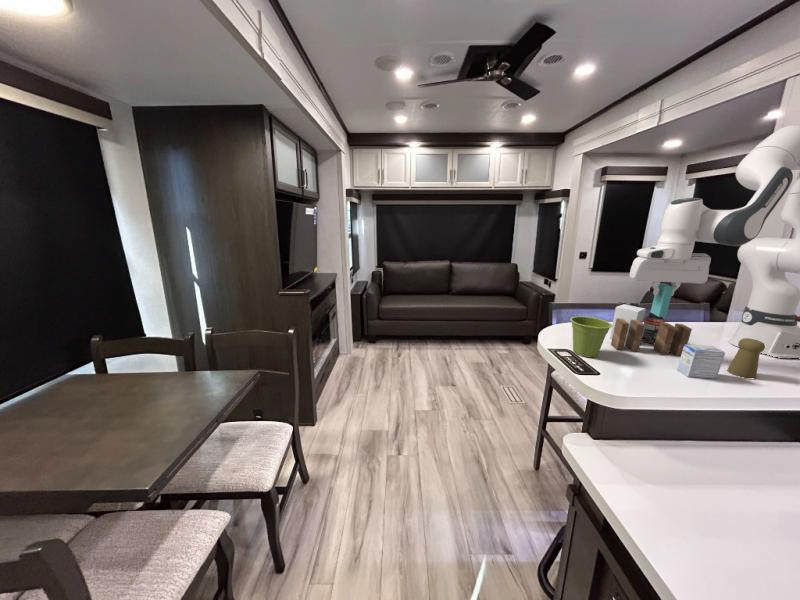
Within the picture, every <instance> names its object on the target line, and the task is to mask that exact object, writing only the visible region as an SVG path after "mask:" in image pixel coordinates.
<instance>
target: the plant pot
mask: <svg viewBox="0 0 800 600" xmlns="http://www.w3.org/2000/svg"><path fill="white" fill-rule="evenodd" d="M570 322H571V328H572V351H574V352H573V353H575V354H576V355H578V356H580V355H581V356H580V357H585V358H591V357H593V358H596V357H598V355H599V353H600V350H601V348H602V345H603V343H604V340H605V339H606V335H607V334H608V332H609V330H610V329H612V324H613V323H611V322H609V321H607V320H604V319H601V318H598V317H591V316H583V315H582V316H572V317H571V318H570Z"/></svg>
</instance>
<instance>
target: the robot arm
mask: <svg viewBox="0 0 800 600" xmlns="http://www.w3.org/2000/svg"><path fill="white" fill-rule="evenodd" d="M797 170H798V171H800V125H799V124H795V125H792V124H791V125H787V126H784V127H782V128H779V129H777V130H776V131H774V132H773V133H771V134H770V135H768V136H767V137H766V138H765V139H763V140H762V141H760V143H758V144H757V145H756V146H755V147H754V148H752V150H750V151H749V153H748V154H747V155H745V157H744V158H743V159H742V160H740V162H739V163H738V165H737V167H736V169H735V178H736V180H737V182H738V183H739V184H740V185H741V186H743V187H744V188H746V189H748V190H751V191H755V192H754V194H753V196H752V197H751V199H750V200H749V201H748V202H747V204H746V205H745V206H743V207H739V208H734V209H711V208H709V207H707V206H706V205H704V202H703V198H700V197H686V198H679V199H675V200H672V201H671V202H669V203H668V205H667V206H666V209H665V211H664V213H663V214H664V215H663V217H662V220H661V225H660V236H659V238H658V240H657V241H656V245H651V246H649V247H645V248H640V249H637V251H636V256H637V257H636V258H635V259H634V260H633V262H632V265H631V266H630V269H629V271H630V272H629V278H630V279H631V280H633V281H636V282H637V281H638V282H650V283H651V286H652V290H653V292H652V294H653V295H654V296H655V295H661V293H662V290H660V289H659V288H658V285H660V283H671V284H670V285H671V286H672V287H674V288H673V292H672V295H671V297H673V296H674V294H675V292H676V291H677V290H678V288H680V287H681V284H698V285H699V284H701V285H703V284H705V283H706V282H707V281H708V278H709V272H710V264H711V260H712V258H711V256H710V255H709V254H707V253H705V252H704V253H696V252H695V253H694V252H693V251H694V248H695V243H696V242H702V243H708V244H709V243H710V244H720V245H724V246H730V247H739V248H738V250H737V253H736V254H737V259H738V261H739V262H740V264H741V265H743V266H744V267H745V268H746V270H747V271H748V273H749V275H750V278H751V283H752V284H751V285H752V286H751V292H750V296H749V299H748V303H747V306H745V307H744V309H743V312H742V314H741V321H740V323H739V325H738V327H737V329H736V330H735V333H734V334H733V335H732V336H731V338H730V339H729V340H728V343H730V344H731V345H733V346H735V347H738V348H739V346H738V343H739V341H740V340H741V339H744V338H749V339H755V340H758V341H761V342H762V343H764V345H765V348H764V350H763V351H762V352H761V353H762V355H765V354H767V356H769V355H770V356H769V357H772V356H773V358H775V357H778V358H777V359H780V358H800V327H799V326H798V322H800V315H799V316H798V315H797V314H796V311H797V308H798V306H799V303H800V289H799V287H797V286H796V285H794V284H793V283H791V282H790V281H788V279H787V277H786V273H792V274H800V173H798V175H797V177H796V178H795V180H794V182H793V179H794V174H793V172H792V171H797ZM792 182H793V183H792ZM791 185H792V186H791ZM790 186H791V189H789V188H790ZM788 189H789V192H788V196H787V197H786V200H785V203H784V204H783V207H782V210H781V212H780V216H779V218H780V220H781V222H782V223H783V224H784V225H787V226H788V227H790V228H793V229H794V231H795V237H794V238H790V237H789V238H787V237H771V236H769V237H759V238H758V237H757V236H758V235H759V234H760V232H761V230H762V229H763V227H764V224H765V221H766V220H767V219H768V217H769V216H770V214H771V213H772V212H773V210H774V208H776V207H777V205H778V203H779V202H780V201H781V200H782V199H783V197H784V196H785V194H786V192H787V191H788ZM761 353H760V354H761Z"/></svg>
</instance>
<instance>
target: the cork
mask: <svg viewBox="0 0 800 600" xmlns="http://www.w3.org/2000/svg"><path fill="white" fill-rule="evenodd" d="M738 346H739V347H738V350H737V352H736V354H735V355H734V358H733V359H732V361H731V363H730V364H729V366H728V368H727V370H726V371H727V372H728V373H729V374H731V375H733V376H736V377H738V376H740V377H739V378H742V377H744V378H743V379H747V378H757V374H758V368H759V360H760V354H761V352H762V351H763V350H764V348H765V345H764V343H762V342H761V341H758V340H755V339H749V338H744V339H741V340H740V341H739V343H738Z"/></svg>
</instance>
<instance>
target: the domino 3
mask: <svg viewBox="0 0 800 600" xmlns="http://www.w3.org/2000/svg"><path fill="white" fill-rule="evenodd" d="M658 288H659V289H660V290H662V293H661V295H654V297H653V300H652V305H651V308H650V311H651V313H653V314H655V315H657V316H658V317H663V318H667V315H668V310H669V306H670V302H671V299H672V296H671V295H672V292H673V288H674V287H672V285H669V284H666V283H663V282H660V285H658Z"/></svg>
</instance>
